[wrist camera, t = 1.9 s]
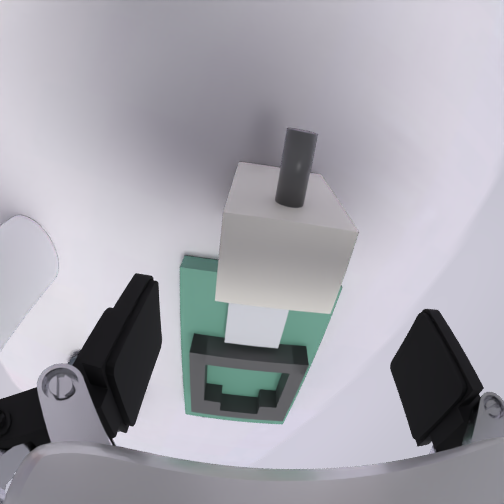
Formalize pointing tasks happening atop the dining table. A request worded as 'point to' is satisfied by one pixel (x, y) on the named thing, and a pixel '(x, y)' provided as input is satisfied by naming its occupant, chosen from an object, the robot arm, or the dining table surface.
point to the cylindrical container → (23, 270)
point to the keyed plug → (284, 234)
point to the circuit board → (241, 351)
